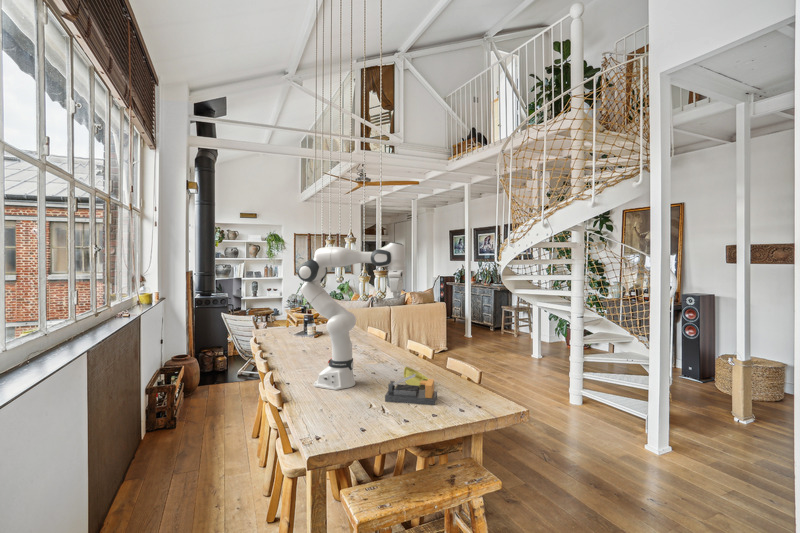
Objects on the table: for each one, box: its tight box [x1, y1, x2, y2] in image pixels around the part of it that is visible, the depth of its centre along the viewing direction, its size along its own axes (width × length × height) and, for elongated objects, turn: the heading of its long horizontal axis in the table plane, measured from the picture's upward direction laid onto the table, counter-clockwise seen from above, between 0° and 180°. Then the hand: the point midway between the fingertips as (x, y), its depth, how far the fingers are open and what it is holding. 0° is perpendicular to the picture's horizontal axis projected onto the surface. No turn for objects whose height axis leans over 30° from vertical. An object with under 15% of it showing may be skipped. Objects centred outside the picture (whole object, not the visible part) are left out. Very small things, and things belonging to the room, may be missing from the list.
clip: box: [420, 378, 435, 398], centre depth 191 cm, size 6×10×6 cm, turn 168°
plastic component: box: [403, 366, 430, 388], centre depth 216 cm, size 20×7×10 cm
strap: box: [391, 374, 416, 386], centre depth 193 cm, size 14×2×1 cm, turn 77°
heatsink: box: [384, 380, 438, 406], centre depth 192 cm, size 24×11×8 cm, turn 78°
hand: (397, 299), depth 206 cm, fingers open, 8 cm apart
